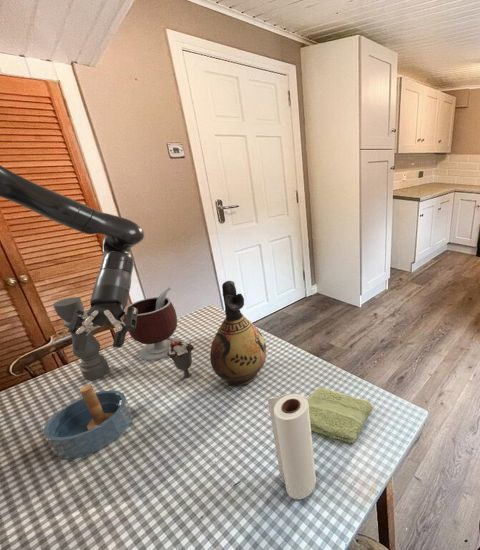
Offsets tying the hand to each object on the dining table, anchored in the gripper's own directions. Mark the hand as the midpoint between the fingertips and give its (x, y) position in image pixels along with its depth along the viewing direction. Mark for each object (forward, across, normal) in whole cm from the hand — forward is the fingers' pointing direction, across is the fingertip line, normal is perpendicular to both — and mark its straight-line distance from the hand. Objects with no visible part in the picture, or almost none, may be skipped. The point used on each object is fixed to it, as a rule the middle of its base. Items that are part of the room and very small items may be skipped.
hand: (98, 348), depth 76 cm
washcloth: (+22, +58, +3) cm, 62 cm away
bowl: (+19, 0, +6) cm, 20 cm away
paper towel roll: (+33, +50, -8) cm, 61 cm away
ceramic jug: (+8, +31, +18) cm, 36 cm away
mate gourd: (-5, 0, +31) cm, 31 cm away
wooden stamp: (+18, +1, +6) cm, 19 cm away
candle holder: (+3, -14, +23) cm, 27 cm away
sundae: (+7, +14, +18) cm, 24 cm away
